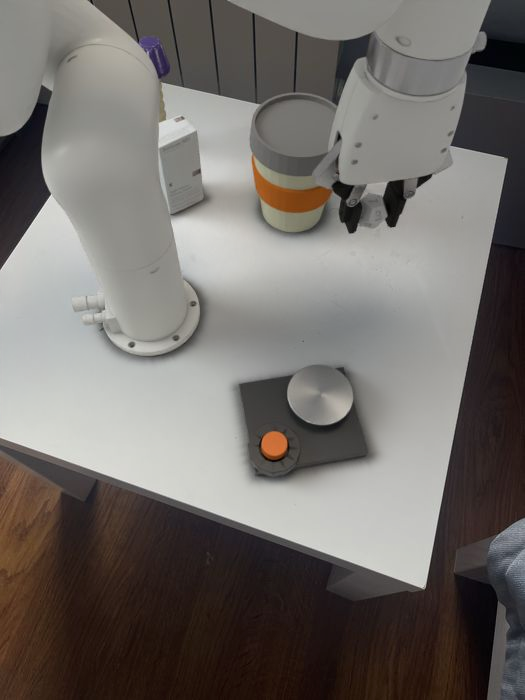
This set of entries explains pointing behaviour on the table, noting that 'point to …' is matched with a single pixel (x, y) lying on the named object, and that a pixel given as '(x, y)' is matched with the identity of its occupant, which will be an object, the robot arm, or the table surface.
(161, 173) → the cosmetic box
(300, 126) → the reusable coffee cup
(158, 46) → the toy lamp
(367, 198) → the game die
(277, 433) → the tare button
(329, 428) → the scale
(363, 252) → the table surface
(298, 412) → the weighing pan
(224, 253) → the table surface
